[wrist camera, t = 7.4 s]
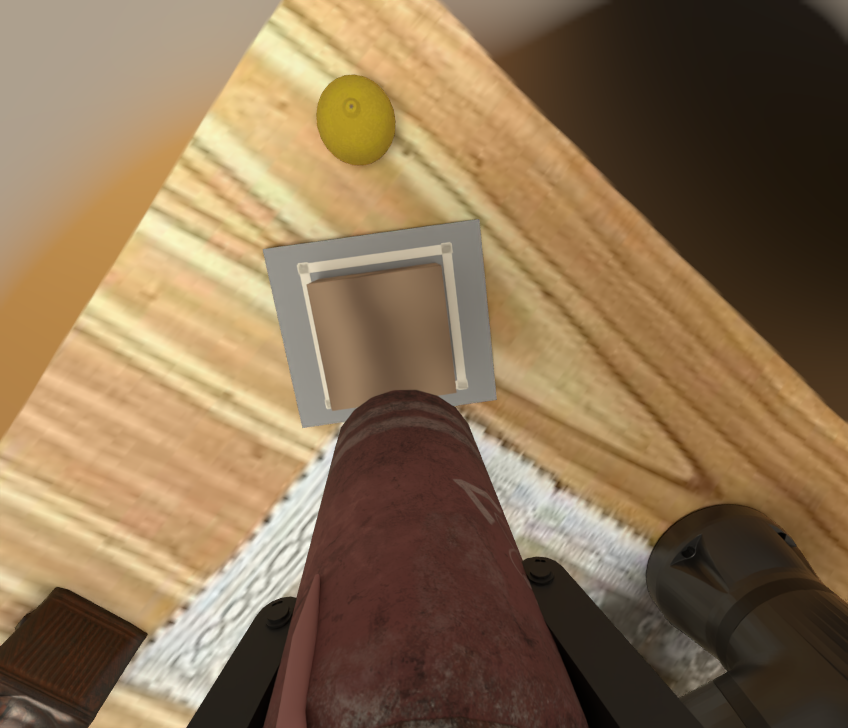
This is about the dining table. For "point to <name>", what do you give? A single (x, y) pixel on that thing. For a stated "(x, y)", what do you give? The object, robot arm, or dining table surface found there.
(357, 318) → the walnut plinth
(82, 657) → the manual coffee grinder
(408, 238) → the grey base plate
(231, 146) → the dining table surface
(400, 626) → the can
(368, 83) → the lemon
